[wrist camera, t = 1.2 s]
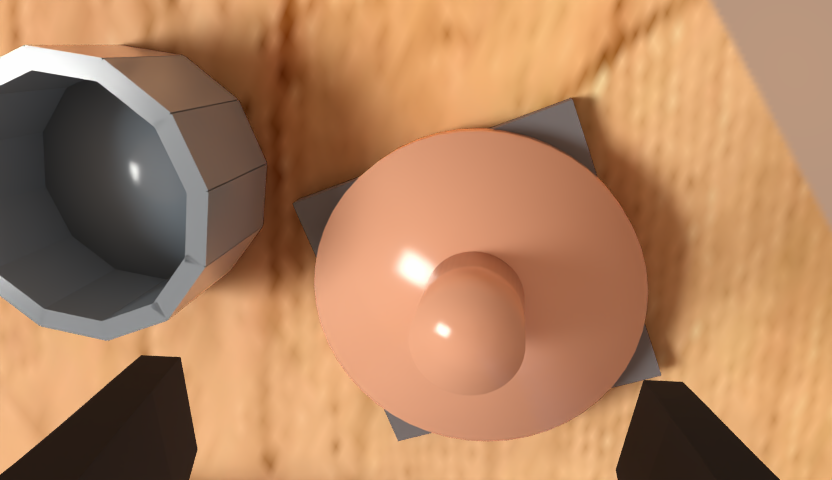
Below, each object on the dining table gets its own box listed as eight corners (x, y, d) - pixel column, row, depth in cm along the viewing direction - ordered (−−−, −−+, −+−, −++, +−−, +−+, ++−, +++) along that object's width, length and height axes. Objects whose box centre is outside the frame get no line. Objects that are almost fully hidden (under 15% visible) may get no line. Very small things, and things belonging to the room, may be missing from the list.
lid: (681, 384, 19) (718, 461, 16) (390, 455, 22) (365, 536, 18) (584, 75, 17) (601, 84, 14) (272, 194, 20) (217, 227, 16)
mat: (657, 366, 20) (661, 375, 19) (401, 430, 22) (398, 441, 22) (571, 97, 18) (572, 99, 17) (298, 198, 20) (292, 203, 20)
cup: (304, 245, 21) (256, 290, 17) (111, 312, 23) (30, 366, 19) (197, 7, 19) (116, -2, 15) (-2, 103, 21) (-116, 116, 17)
